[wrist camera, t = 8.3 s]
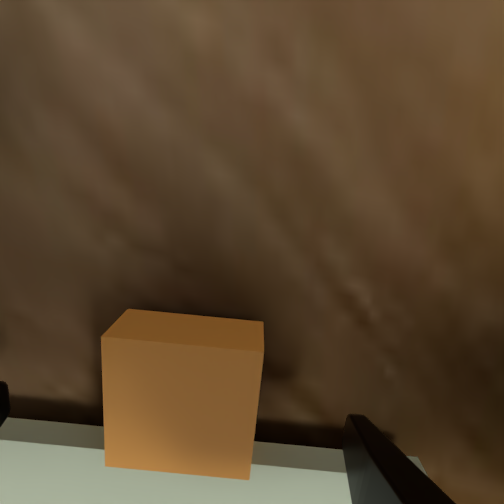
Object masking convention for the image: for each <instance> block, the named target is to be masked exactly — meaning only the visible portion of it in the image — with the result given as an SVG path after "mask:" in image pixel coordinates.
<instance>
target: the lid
mask: <svg viewBox="0 0 504 504" xmlns="http://www.w3.org/2000/svg"><path fill="white" fill-rule="evenodd" d="M101 355H102V385H103V416H104V427H102V426H92V425H81V424H71V423H61V422H50V421H40V420H30V419H19V418H9V417H7V419H6V420H5V422H4V423H3V425H2V426H1V427H0V504H352V501H351V495H350V489H349V484H348V478H347V472H346V466H345V461H344V455H343V450H340V449H330V448H319V447H309V446H299V445H288V444H278V443H268V442H257V441H254V436H255V427H256V418H257V410H258V401H259V392H260V384H261V375H262V366H263V358H264V325H263V322H261V321H251V320H241V319H230V318H220V317H209V316H199V315H189V314H178V313H168V312H157V311H147V310H137V309H127V310H126V311H125V312H124V313H123V314H122V315H121V316H120V317H119V318H118V319H117V320H116V322H115V323H114V324H113V325H112V326H111V327H110V328H109V329H108V330H107V331H106V332H105V333H104V334H103V335H102V336H101ZM407 457H408V458H409V459H410V460H411V461H412V462H413V463H414V464H415V465H416V466H417V467H418V468H419V469H420V470H421V471H422V472H423V473H425V474H426V475H427V473H426V472H425V470H424V468H423V466H422V464H421V462H420V461H419V459H418V457H413V456H407ZM427 476H428V475H427Z"/></svg>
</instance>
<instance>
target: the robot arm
mask: <svg viewBox="0 0 504 504" xmlns="http://www.w3.org/2000/svg"><path fill="white" fill-rule="evenodd" d="M10 408H11V407H10V398H9V390H8V385H7V383H6V382H4V381H0V427H1V426H2V425H3V423H4V422H5V420H6V419H7V417H8V415H9V412H10ZM342 449H343V455H344V461H345V466H346V472H347V478H348V484H349V489H350V495H351V501H352V504H456V503H454V502H453V501H452V500H451V499H450V498H449V497H448V496H447V495H446V494H445V493H444V492H443V491H442V490H441V489H440V488H439V487H438V486H437V485H436V484H435V483H434V482H433V481H432V480H431V479H430V478H429V477H428V476H427V475H426V474H425V473H423V472H422V471H421V470H420V469H419V468H418V467H417V466H416V465H415V464H414V463H413V462H412V461H411V460H410V459H409V458H408V457H407V456H406V455H405V454H404V453H403V452H402V451H401V450H400V449H399V448H398V447H397V446H396V445H395V444H394V443H392V442H391V441H390V440H389V439H388V438H387V437H386V436H385V435H384V434H383V433H382V432H381V431H380V430H379V429H378V428H377V427H376V426H375V425H374V424H373V423H372V422H371V421H370V420H369V419H368V418H367V417H365V416H364V415H359V414H349V415H348V416H347V418H346V423H345V428H344V433H343V438H342Z"/></svg>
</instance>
